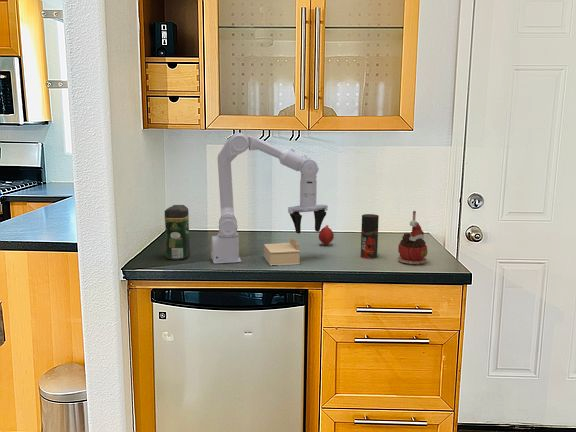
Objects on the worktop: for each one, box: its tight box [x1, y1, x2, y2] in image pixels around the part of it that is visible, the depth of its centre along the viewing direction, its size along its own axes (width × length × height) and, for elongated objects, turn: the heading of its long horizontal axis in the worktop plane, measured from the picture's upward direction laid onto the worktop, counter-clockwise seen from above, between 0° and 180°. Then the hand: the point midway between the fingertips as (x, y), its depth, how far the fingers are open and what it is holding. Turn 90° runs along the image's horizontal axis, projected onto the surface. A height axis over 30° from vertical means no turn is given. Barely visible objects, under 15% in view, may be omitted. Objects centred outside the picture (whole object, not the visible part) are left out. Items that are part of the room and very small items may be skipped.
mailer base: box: [263, 245, 301, 267], centre depth 192 cm, size 10×12×4 cm
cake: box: [397, 210, 428, 265], centre depth 190 cm, size 11×9×18 cm
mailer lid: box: [263, 237, 301, 254], centre depth 192 cm, size 10×12×2 cm
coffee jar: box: [164, 204, 191, 261], centre depth 195 cm, size 10×8×19 cm
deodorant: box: [360, 213, 380, 260], centre depth 197 cm, size 6×6×15 cm
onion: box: [318, 224, 335, 246], centre depth 215 cm, size 6×6×8 cm
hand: (307, 232), depth 194 cm, fingers open, 7 cm apart
